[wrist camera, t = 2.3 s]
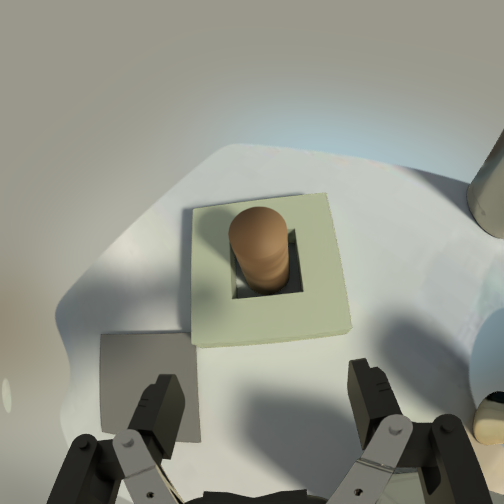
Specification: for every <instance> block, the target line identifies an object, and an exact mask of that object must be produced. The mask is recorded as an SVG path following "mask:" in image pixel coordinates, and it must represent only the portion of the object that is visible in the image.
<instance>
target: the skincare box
mask: <svg viewBox="0 0 504 504" xmlns="http://www.w3.org/2000/svg"><path fill="white" fill-rule="evenodd" d="M489 493H490V496H491V499H492V502H493V504H504V495H502V494H499V493H495V492H492V491H489ZM376 504H425V501H424V496H423V492H422V488H421V483H420V479H419V475H418V472H415V473H403V474H392V476H391V478H390V480H389V482H388V484H387V486H386V487H385V489H384V491H383V493H382V494H381V496H380V498H379V500H378V501H377V503H376Z"/></svg>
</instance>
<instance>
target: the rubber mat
mask: <svg viewBox="0 0 504 504" xmlns="http://www.w3.org/2000/svg"><path fill="white" fill-rule="evenodd" d="M159 374H175V375H176V376H177V378H178V381H179V383H180V386H181V388H182V391H183V393H184V396H185V409H184V413H183V416H182V420H181V423H180V427H179V431H178V434H177V438H176V441H175V442H191V443H200V442H201V435H200V420H199V403H198V383H197V357H196V346H195V345H193V344H192V342H191V333H169V334H119V335H108V334H101V347H100V406H101V426H102V432H105V433H110V434H118V433H119V432H121V431H123V430H127V428H128V426H129V423H130V421H131V419H132V416H133V414H134V412H135V409H136V407H137V405H138V402H139V400H140V398H141V395H142V393H143V391H144V390H145V389H146V388H147V387H148V386H149V385H150V384H155V383H156V380H157V378H158V376H159Z"/></svg>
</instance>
